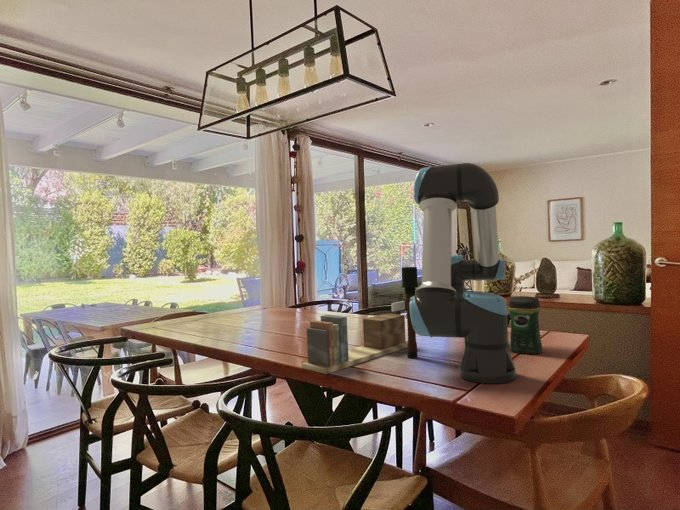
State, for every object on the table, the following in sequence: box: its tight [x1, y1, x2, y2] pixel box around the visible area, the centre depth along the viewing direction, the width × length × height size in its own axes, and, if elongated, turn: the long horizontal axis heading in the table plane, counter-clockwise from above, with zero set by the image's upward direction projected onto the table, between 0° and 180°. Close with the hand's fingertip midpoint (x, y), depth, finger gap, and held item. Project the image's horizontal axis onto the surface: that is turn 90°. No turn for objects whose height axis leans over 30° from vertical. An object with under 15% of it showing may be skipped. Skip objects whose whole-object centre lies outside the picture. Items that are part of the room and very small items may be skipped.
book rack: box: [301, 314, 408, 375], centre depth 152 cm, size 44×11×16 cm, turn 135°
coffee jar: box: [508, 295, 543, 355], centre depth 148 cm, size 10×8×19 cm
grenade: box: [400, 266, 420, 359], centre depth 147 cm, size 6×6×30 cm
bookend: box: [362, 312, 407, 350], centre depth 161 cm, size 14×8×10 cm, turn 135°
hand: (401, 308), depth 143 cm, fingers open, 7 cm apart
